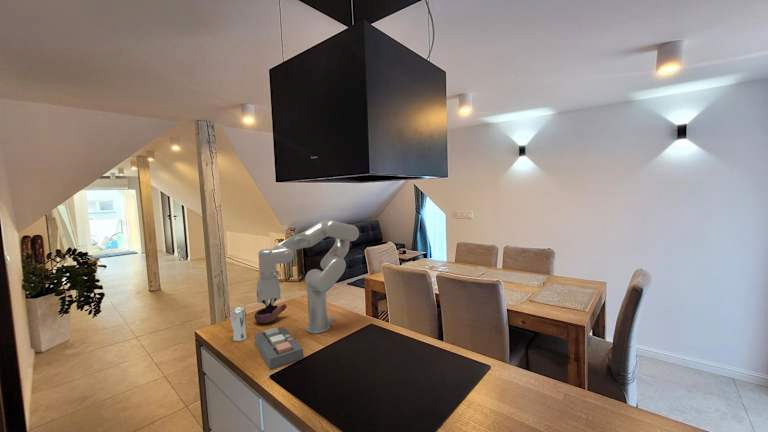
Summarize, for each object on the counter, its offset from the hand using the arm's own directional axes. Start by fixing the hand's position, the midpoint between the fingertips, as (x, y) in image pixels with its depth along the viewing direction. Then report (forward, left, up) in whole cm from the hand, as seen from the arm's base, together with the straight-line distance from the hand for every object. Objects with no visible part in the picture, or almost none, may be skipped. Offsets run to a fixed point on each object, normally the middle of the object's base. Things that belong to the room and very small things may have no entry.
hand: (269, 312), depth 151 cm
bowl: (-6, -28, -16) cm, 33 cm away
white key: (0, +9, -12) cm, 15 cm away
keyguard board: (0, +9, -15) cm, 18 cm away
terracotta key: (0, +18, -12) cm, 22 cm away
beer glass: (+12, -15, -15) cm, 24 cm away
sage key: (0, 0, -12) cm, 12 cm away
